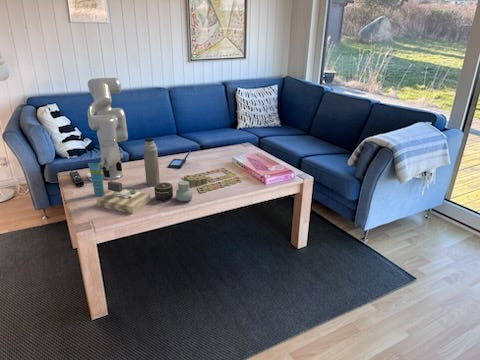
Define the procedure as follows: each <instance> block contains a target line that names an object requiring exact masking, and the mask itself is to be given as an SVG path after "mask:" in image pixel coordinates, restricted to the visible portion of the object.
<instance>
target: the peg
mask: <svg viewBox="0 0 480 360" xmlns="http://www.w3.org/2000/svg"><path fill="white" fill-rule="evenodd" d="M122 189H123V184H122V182H117V181H112V180H109V181H108V182H107V190H108V191H113V193H114V196H117V195H122V196H127V197H132V196H131V195H126V194H121V193H118V192H121V191H122Z"/></svg>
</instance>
